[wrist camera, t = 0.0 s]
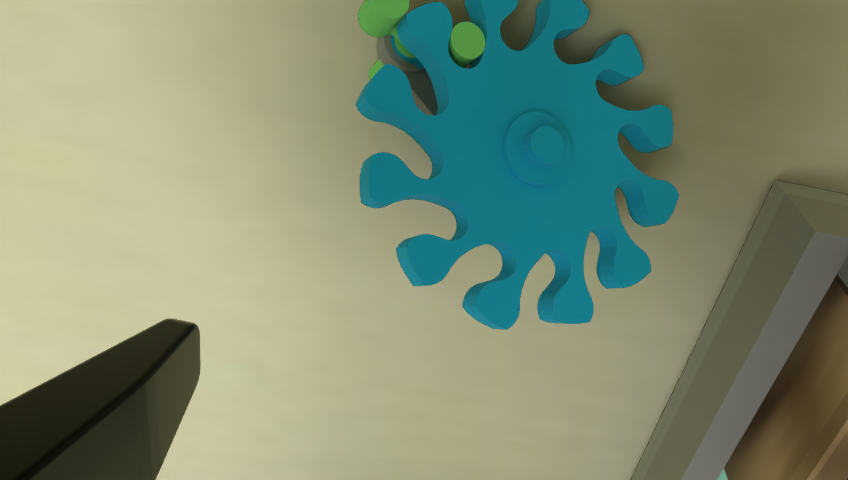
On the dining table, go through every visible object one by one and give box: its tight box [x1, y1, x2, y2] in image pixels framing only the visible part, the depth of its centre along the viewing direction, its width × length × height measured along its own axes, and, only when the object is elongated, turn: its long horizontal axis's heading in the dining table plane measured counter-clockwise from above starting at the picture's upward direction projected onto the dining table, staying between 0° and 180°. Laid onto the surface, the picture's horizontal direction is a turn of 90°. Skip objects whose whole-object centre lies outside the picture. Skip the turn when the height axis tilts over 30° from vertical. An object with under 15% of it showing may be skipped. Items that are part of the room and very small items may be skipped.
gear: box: [356, 0, 679, 330], centre depth 20 cm, size 11×6×10 cm
